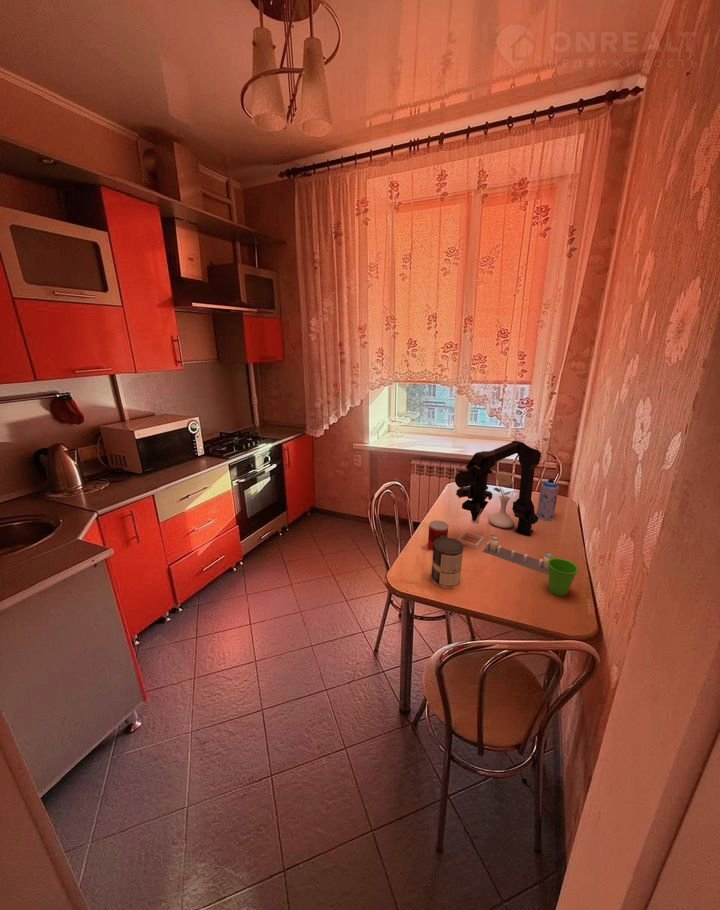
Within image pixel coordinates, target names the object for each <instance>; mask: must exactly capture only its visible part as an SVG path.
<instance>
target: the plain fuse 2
mask: <svg viewBox="0 0 720 910" xmlns="http://www.w3.org/2000/svg"><path fill="white" fill-rule="evenodd" d="M543 555H544V556H543V566H542V568H543V569H545V570H548V571H549V565H548V560H549V559H551V558H555V554H554V553H553V552H550V551H545V552H544V554H543Z"/></svg>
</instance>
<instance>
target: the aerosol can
mask: <svg viewBox="0 0 720 910" xmlns="http://www.w3.org/2000/svg"><path fill="white" fill-rule="evenodd" d="M559 490H560V489H559V485H558V484H557V482H555V480H554V478H549V479H548V480H546V481H544V482H542V483H541V485H540V491H539V497H538V498H539V499H538V505H537V510H536V513H535V514H536V515H537V517H538V518H539V519H538V520H541V521H544V522H545V521H546V522H552V521H554V519H555V511H556V506H557V500H558V494H559Z"/></svg>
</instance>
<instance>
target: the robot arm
mask: <svg viewBox="0 0 720 910" xmlns="http://www.w3.org/2000/svg"><path fill="white" fill-rule="evenodd" d="M515 454H517V455H518V463H519V465H520V466H521V473H520V481H519V492H518V493H519V494H518V498H517V499H516V500H515V501H513V502H512V508H511V510H512V512H513V514H514V517H516V518H518V519H517V520H518V521H517V526H516V528H515V529H514V533H516V534H520V535H524V536H526V537H527V536H528V537H530V536H531V535H532V534H533V532H534V529H532V528H533V525H536V524H537V522H538V521H539V520H540V519H539V518H538V517H537V515H536V514H537V513H535V505H534V503H533V501H532V494H533V487H534V486H533V485H534V476H535V470H536V468H537V467H538V465H540V461H541V458H542V452H541V451H540V450H539V449H536V448H533V447H531V446H529V445H527V444H526V443H525V442H522V441H519V440H513V441H511V442H509V443H507V444H504V445H502V446H499V447H497V448H495V449H492V450H488V451H487V450H482V451H478V452H476V453H474V454H473V456H472V458H470V461H468V463H467V465H466V466H465V469H460V470H458V471H459V472H458V473H457V474H456V475H455V477H454V482H455V485H456V486H457V487H458V489H456V494H455V495H456V496H457V498H458V499H461V498H466V497H467V500H465V501H464V502H463V503H461V509H462V510H465V511H468V512H470V515H471V521H472V520H473V521H476V519H477V517H478V515H479V514H480V516H481V514H482V513H483V511H484V510H485V508H486V506H487V505H488V504H489V501H491V500H492V499H493V493H492V491H489V490H488V489H489V486H488V479H489V474H493V473H494V472H493V470H491V468H493V467H494V466H496V464H497V463H498V462H500V461H502V460H504V459H506V458H509V457H511V456H513V455H515ZM487 499H488V501H487Z"/></svg>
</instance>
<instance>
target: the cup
mask: <svg viewBox="0 0 720 910" xmlns="http://www.w3.org/2000/svg"><path fill="white" fill-rule="evenodd" d="M548 565H549V575H548V590H549V591H550V593H552V594H553V595H555V596H558V597H566V596H567V595H568V592H569V590H570V588H571V586H572V583H573V581H574V579H575V577H576V575H577V573H578V572H579V567H578V565H576V563H574V562H572V560H571V561H570V560H568V559H565V558H562V557H561V558H560V557H554V558H551V559H549V560H548Z"/></svg>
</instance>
